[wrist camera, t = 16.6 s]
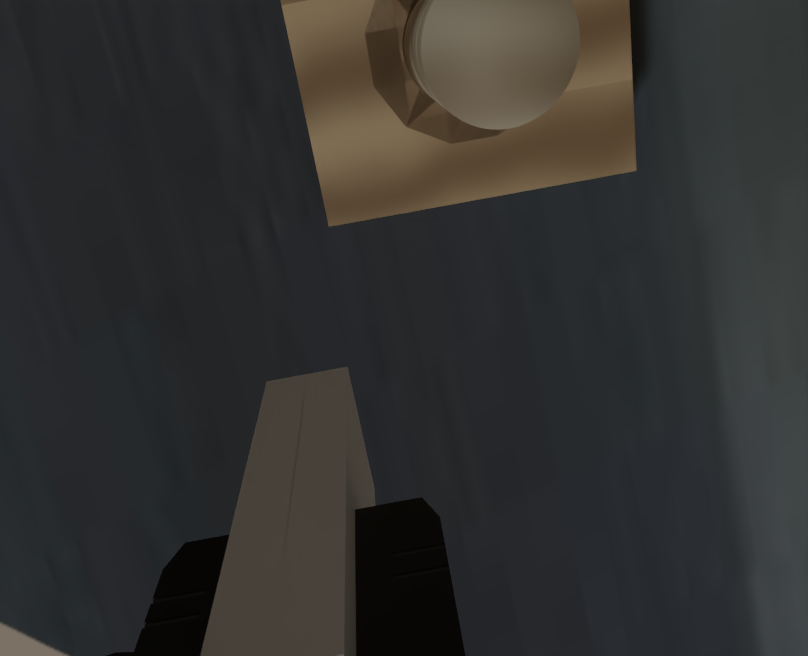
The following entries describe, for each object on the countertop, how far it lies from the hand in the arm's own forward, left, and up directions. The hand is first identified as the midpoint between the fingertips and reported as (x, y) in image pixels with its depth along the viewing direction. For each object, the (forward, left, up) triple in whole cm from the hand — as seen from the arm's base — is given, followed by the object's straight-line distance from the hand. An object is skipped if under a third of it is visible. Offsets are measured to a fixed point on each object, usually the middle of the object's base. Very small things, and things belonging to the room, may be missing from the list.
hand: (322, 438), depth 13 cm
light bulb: (-6, +7, -29) cm, 30 cm away
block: (-6, +7, -29) cm, 31 cm away
